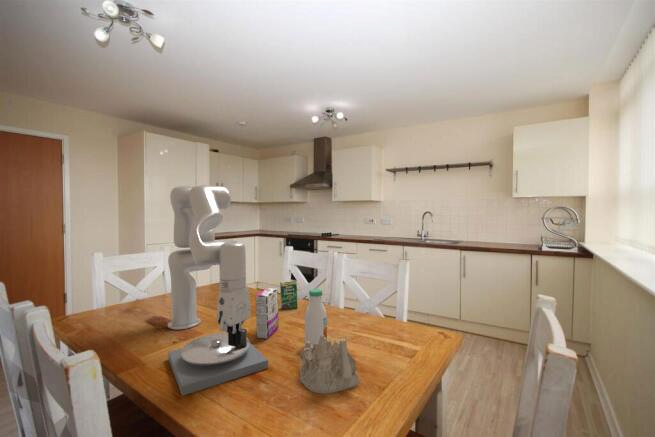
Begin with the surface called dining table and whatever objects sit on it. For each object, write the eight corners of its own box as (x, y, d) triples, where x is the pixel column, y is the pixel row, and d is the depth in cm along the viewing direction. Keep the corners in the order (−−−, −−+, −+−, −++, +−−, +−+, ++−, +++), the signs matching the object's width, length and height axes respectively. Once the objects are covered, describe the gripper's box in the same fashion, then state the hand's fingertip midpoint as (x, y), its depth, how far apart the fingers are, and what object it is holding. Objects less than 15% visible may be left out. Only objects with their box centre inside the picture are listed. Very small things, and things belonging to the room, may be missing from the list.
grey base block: (168, 359, 99) (168, 348, 99) (241, 340, 113) (241, 331, 112) (182, 395, 79) (181, 382, 79) (268, 368, 93) (267, 356, 93)
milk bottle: (319, 353, 102) (318, 294, 102) (300, 348, 106) (300, 291, 106) (331, 344, 109) (330, 289, 108) (313, 340, 113) (312, 286, 112)
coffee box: (280, 309, 147) (280, 283, 147) (280, 308, 150) (280, 281, 150) (297, 308, 149) (297, 282, 149) (296, 306, 152) (296, 280, 152)
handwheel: (167, 367, 86) (166, 342, 86) (201, 337, 106) (201, 317, 106) (235, 369, 85) (235, 344, 85) (257, 339, 105) (257, 319, 105)
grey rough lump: (364, 387, 82) (361, 331, 83) (304, 399, 78) (301, 340, 79) (347, 363, 98) (344, 316, 98) (296, 372, 94) (293, 322, 94)
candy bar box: (267, 327, 126) (266, 287, 125) (278, 328, 125) (278, 288, 124) (255, 338, 115) (255, 295, 114) (268, 339, 114) (267, 295, 113)
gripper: (225, 291, 83) (226, 358, 83) (258, 279, 96) (259, 337, 97) (204, 288, 86) (205, 353, 86) (239, 278, 99) (240, 334, 100)
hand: (234, 344), depth 91 cm, fingers closed
